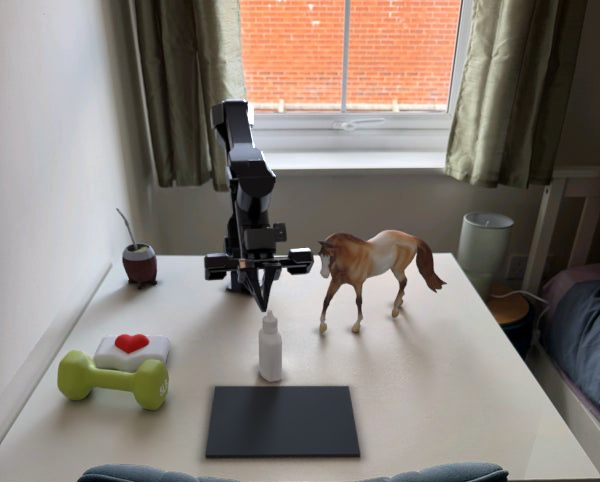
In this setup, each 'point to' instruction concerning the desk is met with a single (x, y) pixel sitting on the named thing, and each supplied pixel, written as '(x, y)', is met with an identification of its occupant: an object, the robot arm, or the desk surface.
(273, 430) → the mat
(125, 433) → the desk surface
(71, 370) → the dumbbell
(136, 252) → the mate gourd
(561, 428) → the desk surface
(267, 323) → the eye dropper bottle
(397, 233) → the horse figurine
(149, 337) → the icon
